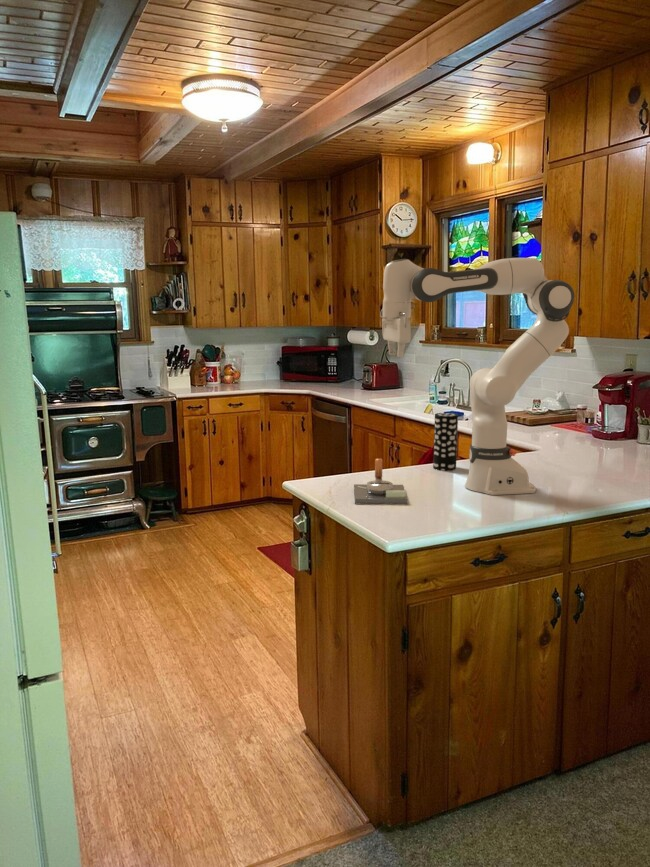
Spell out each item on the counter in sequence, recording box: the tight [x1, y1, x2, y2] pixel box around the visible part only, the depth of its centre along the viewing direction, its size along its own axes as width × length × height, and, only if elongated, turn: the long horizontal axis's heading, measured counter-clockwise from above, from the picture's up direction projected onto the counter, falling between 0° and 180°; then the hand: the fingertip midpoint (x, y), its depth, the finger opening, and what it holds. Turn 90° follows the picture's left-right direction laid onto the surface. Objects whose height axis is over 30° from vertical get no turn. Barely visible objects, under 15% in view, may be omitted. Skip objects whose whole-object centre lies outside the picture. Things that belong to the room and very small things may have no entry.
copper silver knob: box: [366, 458, 394, 495], centre depth 222 cm, size 8×13×8 cm, turn 179°
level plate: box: [353, 483, 409, 505], centre depth 220 cm, size 16×17×3 cm
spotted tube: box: [432, 412, 459, 472], centre depth 256 cm, size 8×8×20 cm
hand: (396, 355), depth 223 cm, fingers open, 8 cm apart
